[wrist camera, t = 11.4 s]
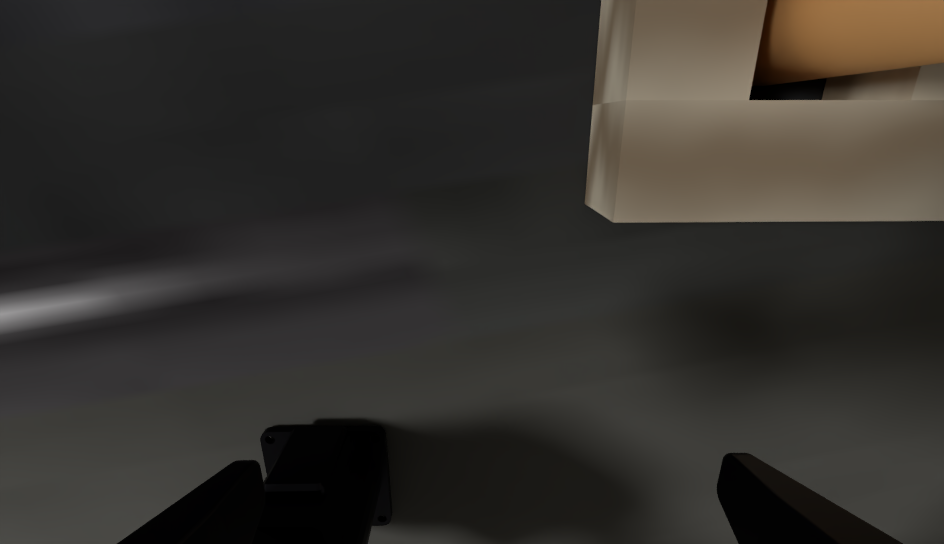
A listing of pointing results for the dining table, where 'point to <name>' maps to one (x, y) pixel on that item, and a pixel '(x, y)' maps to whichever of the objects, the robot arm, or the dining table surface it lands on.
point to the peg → (846, 38)
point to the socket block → (750, 127)
